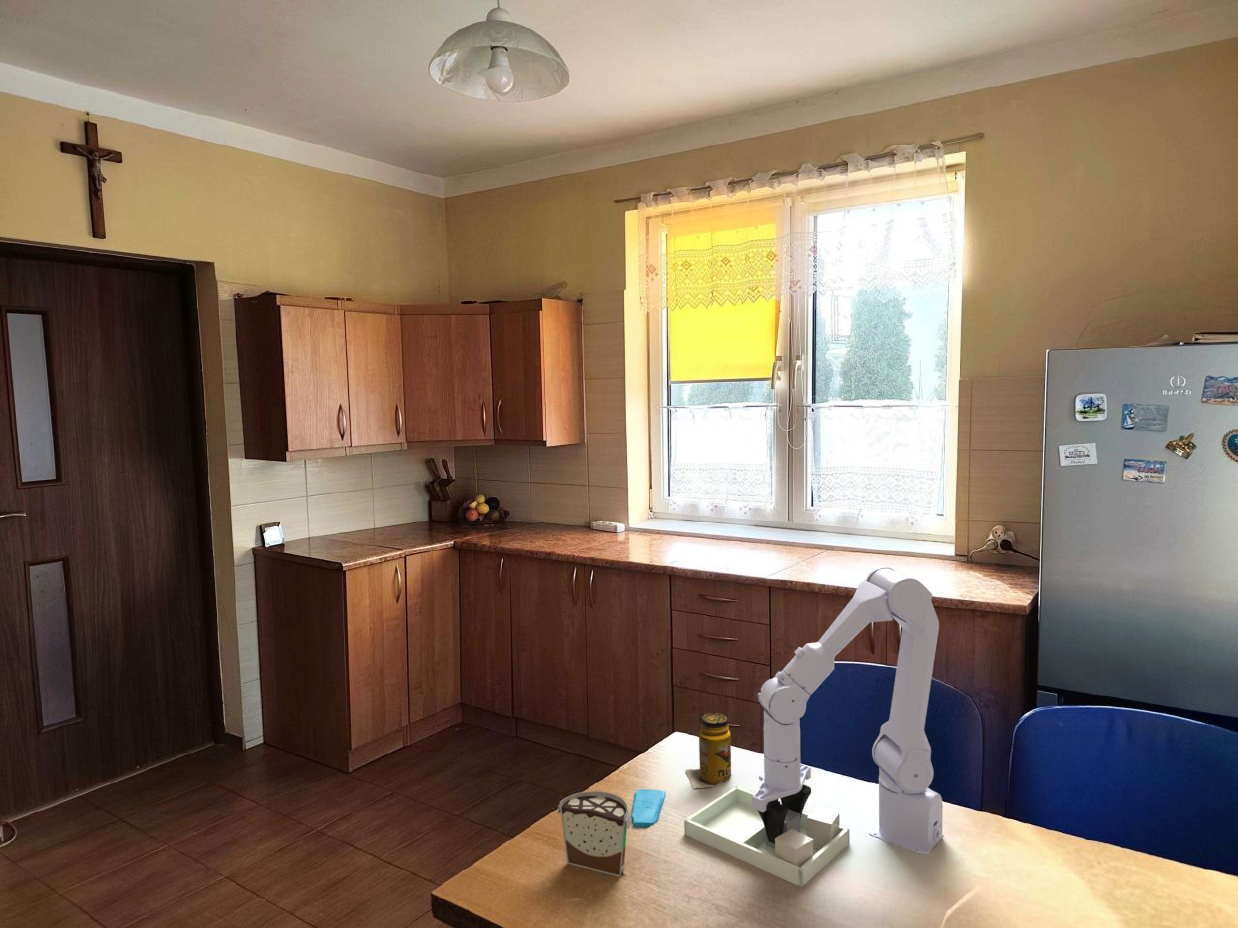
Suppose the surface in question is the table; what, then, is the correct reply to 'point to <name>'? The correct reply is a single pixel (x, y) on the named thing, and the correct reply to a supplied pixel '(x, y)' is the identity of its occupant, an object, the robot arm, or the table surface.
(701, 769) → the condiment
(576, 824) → the food container
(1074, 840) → the table surface
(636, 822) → the sponge
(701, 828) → the tray
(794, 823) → the grey rectangular block
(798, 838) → the white block
